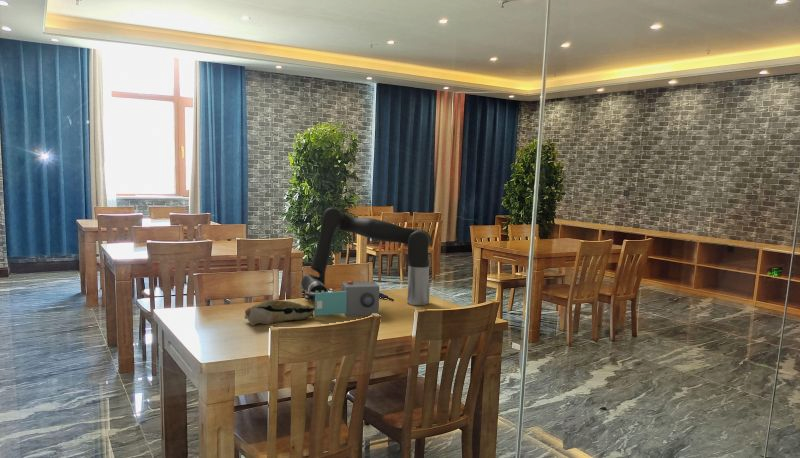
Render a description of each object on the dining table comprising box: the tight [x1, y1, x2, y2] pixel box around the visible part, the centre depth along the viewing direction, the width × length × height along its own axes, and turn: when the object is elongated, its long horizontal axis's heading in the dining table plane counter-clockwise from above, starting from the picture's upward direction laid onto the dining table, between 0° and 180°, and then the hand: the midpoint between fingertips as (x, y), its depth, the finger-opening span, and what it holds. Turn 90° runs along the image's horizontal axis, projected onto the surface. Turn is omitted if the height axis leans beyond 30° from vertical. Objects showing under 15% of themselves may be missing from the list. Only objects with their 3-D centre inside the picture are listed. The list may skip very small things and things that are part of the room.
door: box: [314, 290, 347, 317], centre depth 220 cm, size 2×13×9 cm, turn 115°
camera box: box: [341, 280, 380, 317], centre depth 229 cm, size 14×12×13 cm
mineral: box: [244, 299, 315, 326], centre depth 214 cm, size 26×9×10 cm
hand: (322, 300), depth 220 cm, fingers closed
